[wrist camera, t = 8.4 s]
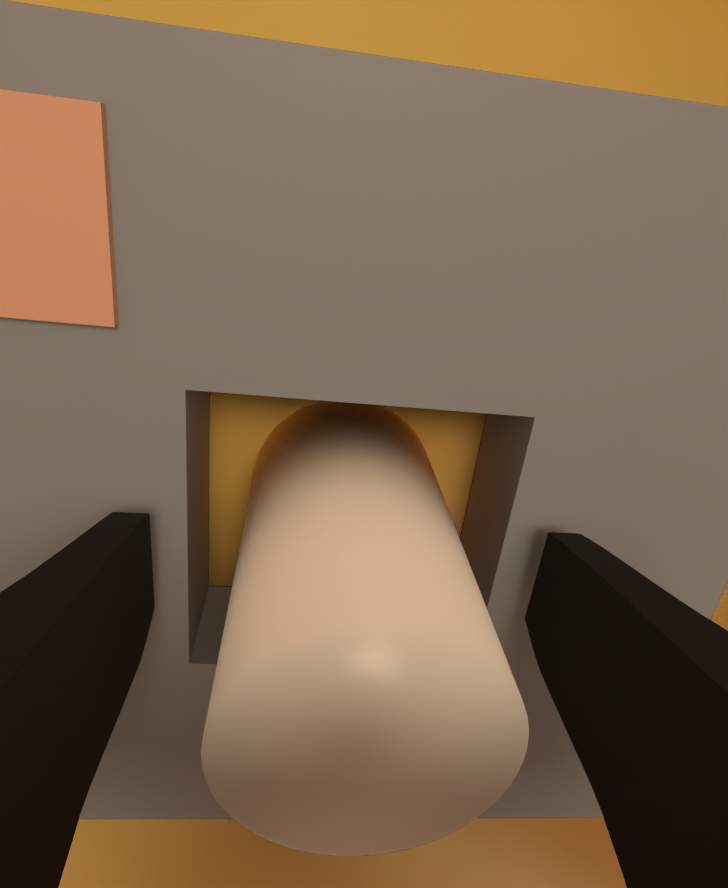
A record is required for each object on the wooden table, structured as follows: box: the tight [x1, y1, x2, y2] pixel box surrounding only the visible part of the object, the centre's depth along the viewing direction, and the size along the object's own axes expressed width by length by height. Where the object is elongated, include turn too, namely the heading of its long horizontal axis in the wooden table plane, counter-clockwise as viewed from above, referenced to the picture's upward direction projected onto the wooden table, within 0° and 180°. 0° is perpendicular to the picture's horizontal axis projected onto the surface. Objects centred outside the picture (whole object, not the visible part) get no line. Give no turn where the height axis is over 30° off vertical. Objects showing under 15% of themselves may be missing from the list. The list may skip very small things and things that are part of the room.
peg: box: [201, 401, 529, 856], centre depth 10 cm, size 4×4×7 cm
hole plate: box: [0, 0, 728, 819], centre depth 12 cm, size 16×16×3 cm
